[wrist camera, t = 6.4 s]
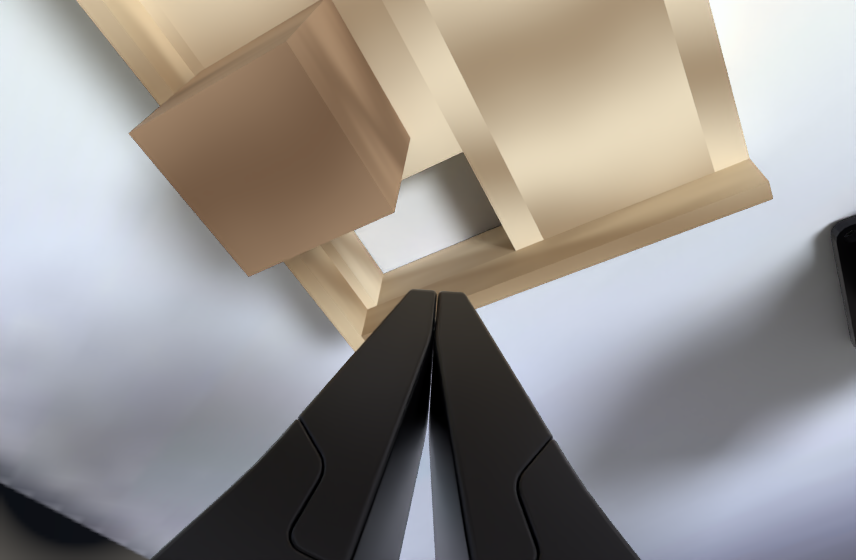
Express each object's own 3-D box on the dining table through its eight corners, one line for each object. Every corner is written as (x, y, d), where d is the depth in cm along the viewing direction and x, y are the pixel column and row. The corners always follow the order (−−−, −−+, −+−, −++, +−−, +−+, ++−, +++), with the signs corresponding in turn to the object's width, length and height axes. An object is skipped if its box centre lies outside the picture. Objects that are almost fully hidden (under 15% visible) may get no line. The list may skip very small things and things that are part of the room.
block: (410, 137, 19) (394, 212, 15) (290, 196, 20) (248, 276, 16) (328, -6, 16) (286, 41, 13) (199, 71, 18) (128, 133, 14)
